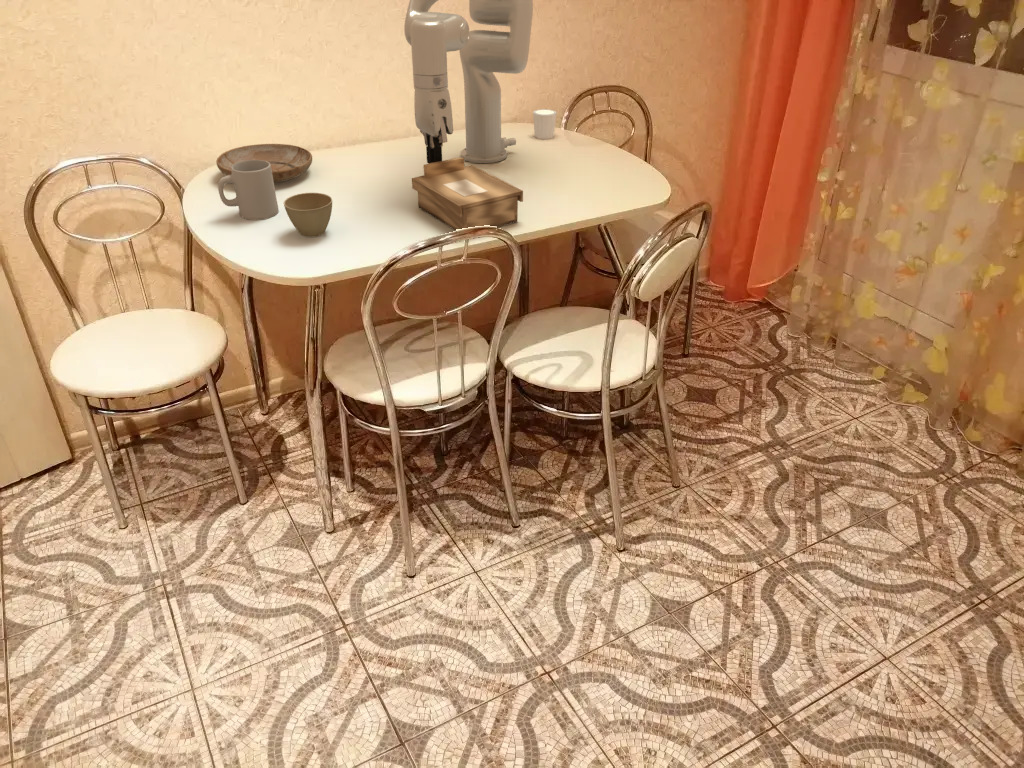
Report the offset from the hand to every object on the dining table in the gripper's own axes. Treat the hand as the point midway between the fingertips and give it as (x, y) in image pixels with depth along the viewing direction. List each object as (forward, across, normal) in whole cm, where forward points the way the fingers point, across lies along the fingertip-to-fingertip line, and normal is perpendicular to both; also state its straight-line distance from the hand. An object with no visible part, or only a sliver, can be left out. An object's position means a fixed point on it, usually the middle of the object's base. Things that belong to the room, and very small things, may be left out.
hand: (434, 163), depth 180 cm
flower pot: (+8, -4, +33) cm, 34 cm away
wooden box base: (+8, -14, 0) cm, 16 cm away
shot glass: (+8, +26, -51) cm, 58 cm away
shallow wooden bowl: (+9, +37, +28) cm, 47 cm away
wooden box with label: (+4, -14, 0) cm, 14 cm away
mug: (+8, +14, +40) cm, 43 cm away
